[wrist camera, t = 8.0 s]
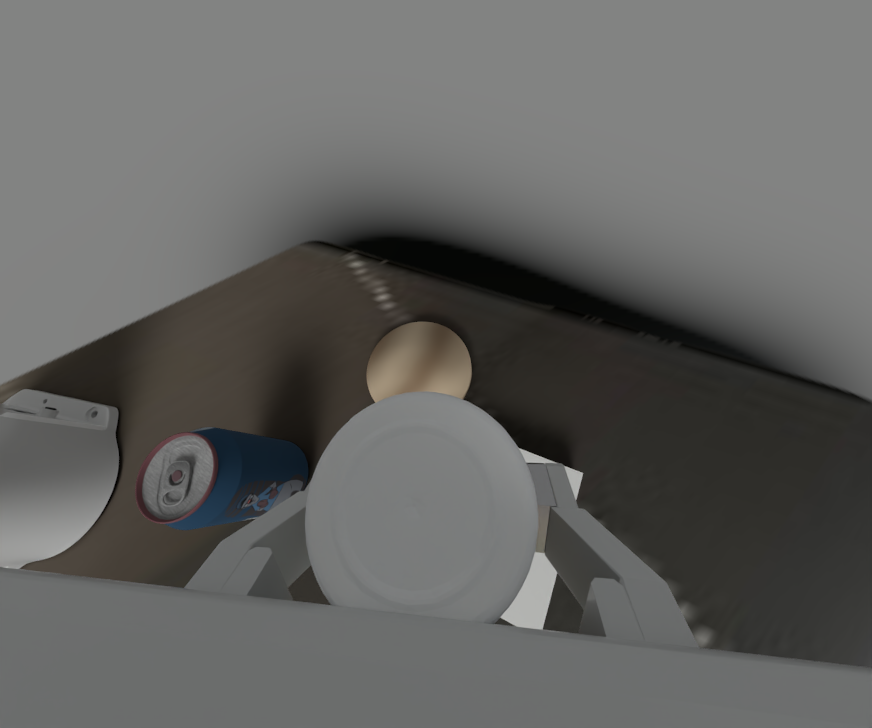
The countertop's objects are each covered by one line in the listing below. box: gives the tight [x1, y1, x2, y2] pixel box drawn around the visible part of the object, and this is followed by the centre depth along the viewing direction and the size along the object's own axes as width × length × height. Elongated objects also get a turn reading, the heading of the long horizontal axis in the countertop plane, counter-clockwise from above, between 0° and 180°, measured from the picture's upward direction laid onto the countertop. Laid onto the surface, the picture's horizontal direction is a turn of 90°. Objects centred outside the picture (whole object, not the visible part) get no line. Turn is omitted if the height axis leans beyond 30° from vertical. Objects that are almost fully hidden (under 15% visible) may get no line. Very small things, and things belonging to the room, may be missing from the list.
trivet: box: [367, 322, 472, 403], centre depth 33 cm, size 11×11×1 cm
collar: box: [500, 448, 583, 630], centre depth 27 cm, size 12×12×3 cm
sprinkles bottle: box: [305, 391, 538, 624], centre depth 12 cm, size 5×5×13 cm
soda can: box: [135, 427, 308, 530], centre depth 26 cm, size 7×7×12 cm
